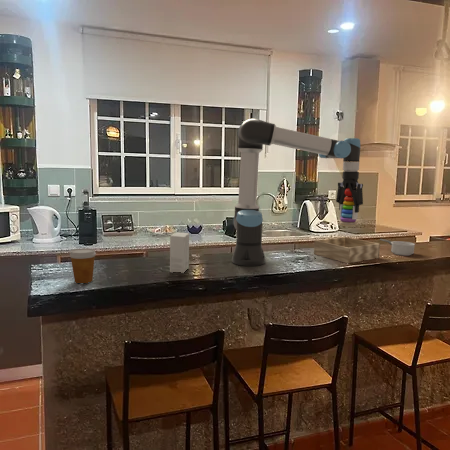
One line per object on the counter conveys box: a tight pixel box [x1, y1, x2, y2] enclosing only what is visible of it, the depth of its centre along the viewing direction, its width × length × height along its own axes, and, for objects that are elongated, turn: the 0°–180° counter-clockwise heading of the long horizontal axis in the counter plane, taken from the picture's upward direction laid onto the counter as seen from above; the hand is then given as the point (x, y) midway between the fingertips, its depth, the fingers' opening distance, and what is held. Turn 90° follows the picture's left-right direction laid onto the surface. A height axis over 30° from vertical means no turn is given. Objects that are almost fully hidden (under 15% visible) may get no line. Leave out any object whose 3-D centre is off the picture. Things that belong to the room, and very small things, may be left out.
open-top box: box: [313, 236, 381, 264], centre depth 215 cm, size 22×22×7 cm
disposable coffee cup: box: [68, 247, 97, 284], centre depth 164 cm, size 10×10×12 cm
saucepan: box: [379, 238, 416, 257], centre depth 226 cm, size 12×20×6 cm, turn 30°
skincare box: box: [169, 231, 190, 274], centre depth 182 cm, size 8×7×16 cm
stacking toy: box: [339, 188, 358, 227], centre depth 212 cm, size 8×8×19 cm
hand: (348, 218), depth 213 cm, fingers closed on stacking toy, 7 cm apart
